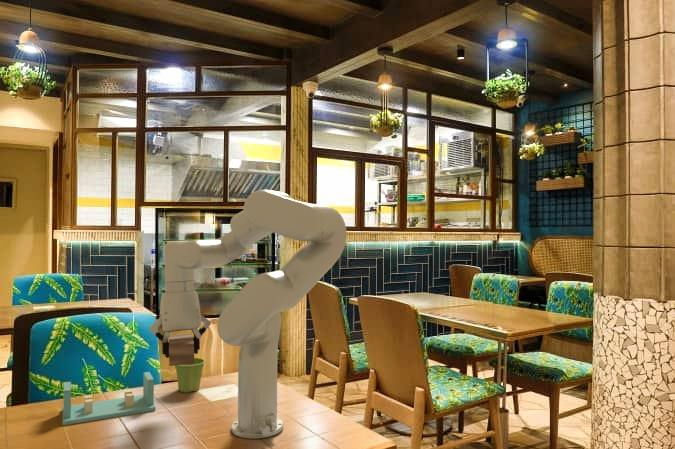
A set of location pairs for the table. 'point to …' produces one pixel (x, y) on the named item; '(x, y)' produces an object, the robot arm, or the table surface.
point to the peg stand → (108, 404)
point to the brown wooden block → (181, 349)
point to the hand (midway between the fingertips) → (181, 354)
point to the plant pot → (189, 375)
